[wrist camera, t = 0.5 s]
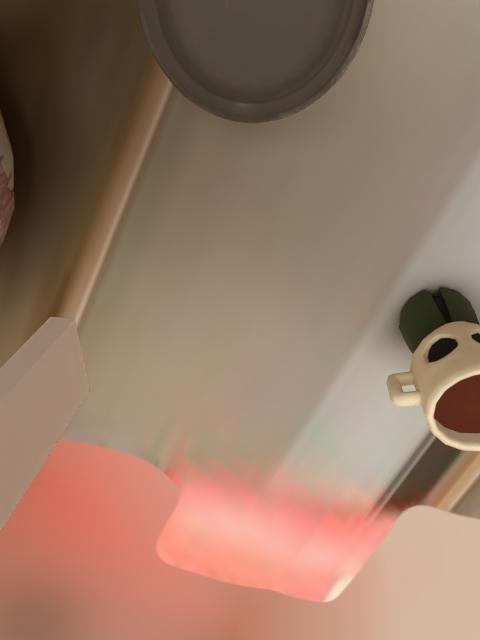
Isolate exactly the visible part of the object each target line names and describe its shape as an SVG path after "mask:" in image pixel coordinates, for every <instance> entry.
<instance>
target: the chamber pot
mask: <svg viewBox="0 0 480 640" xmlns="http://www.w3.org/2000/svg"><path fill="white" fill-rule="evenodd" d="M13 211H14V167H13V149H12V146H11V143H10V140H9V136H8V133H7V130H6V126H5V123H4V120H3V117H2V113H1V110H0V247H1V246H2V244H3V241H4V238H5V235H6V232H7V229H8V226H9V223H10V220H11V217H12V214H13Z"/></svg>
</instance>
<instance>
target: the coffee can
mask: <svg viewBox="0 0 480 640" xmlns="http://www.w3.org/2000/svg"><path fill="white" fill-rule="evenodd" d="M137 1H138V9H139V14H140V19H141V23H142V27H143V30H144V33H145V36H146V39H147V42H148V44H149V46H150V49H151V51H152V53H153V55H154V57H155V58H156V60H157V62H158V64H159V66H160V67H161V69H162V70H163V72H164V73H165V74H166V76H167V77H168V78H169V80H170V81H171V82H172V84H173V85H174V86H175V87H176V88H177V89H178V90H179V91H180V92H181V93H182V94H183V95H184V96H185V97H186V98H188V99H189V100H190V101H192V102H193V103H194V104H196V105H197V106H199V107H200V108H202V109H203V110H205V111H207V112H209V113H211V114H214V115H216V116H219V117H222V118H225V119H228V120H232V121H236V122H247V123H259V122H268V121H273V120H278V119H281V118H284V117H287V116H290V115H292V114H295V113H297V112H299V111H301V110H302V109H304V108H306V107H307V106H309V105H311V104H312V103H314V102H315V101H316V100H318V99H319V98H320V97H321V96H322V95H324V94H325V93H326V92H327V91H328V90H329V89H330V88H331V87H332V86H333V85H334V84H335V83H336V82H337V81H338V79H339V78H340V77H341V76H342V74H343V73H344V72H345V70H346V69H347V67H348V66H349V64H350V63H351V61H352V59H353V58H354V56H355V54H356V52H357V50H358V48H359V46H360V44H361V42H362V39H363V37H364V35H365V32H366V29H367V26H368V23H369V19H370V16H371V12H372V7H373V1H374V0H137Z"/></svg>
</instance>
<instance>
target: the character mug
mask: <svg viewBox="0 0 480 640" xmlns="http://www.w3.org/2000/svg"><path fill="white" fill-rule="evenodd" d="M440 291H441V294H442V296H443V298H440V297H436V298H432V296H431V294H430V293H429V291H424V292H422V293H420V294H419V295H417V296H416V297H414V298H412V299H411V300H410V301H409V302H408V304H407V305H406V306H405V308H404V309H403V311H402V312H401V318H400V326H399V328H400V330H401V333H402V335H403V338H404V340H405V342H406V344H407V345H408V347H409V349H410V350H411V352H412V353H413V357H412V363H411V368H410V372H404V373H396V374H392V375H389V377H388V379H387V386H388V390H389V394H390V398H391V400H392V401H393V403H394V404H395V405H396V406H402V407H403V406H412V405H422V408H423V411H424V414H425V417H426V419H427V422H428V425H429V428H430V430H431V432H432V433H433V434H434V435H435V436H436V437H438V438H439V439H440V440H441V441H442V442H443V443H444V444H447V445H449V446H452V447H455V448H457V449H460V450H465V451H480V325H479V322H478V319H477V317H476V314H475V312H474V309H473V307H472V305H471V303H470V301H468V300H467V299H466V298H465V297H464V296H463V295H461V294H460V293H459V292H457V291H453V290H449V289H445V288H441V289H440ZM413 384H414V385H415V388H416V391H411V392H403V390H402V387H401V386H405V385H413Z"/></svg>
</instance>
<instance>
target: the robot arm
mask: <svg viewBox="0 0 480 640" xmlns="http://www.w3.org/2000/svg"><path fill="white" fill-rule="evenodd" d="M89 392H90V390H89V385H88V380H87V375H86V371H85V366H84V361H83V356H82V351H81V346H80V342H79V337H78V332H77V327H76V322H75V318H59V317H50V318H49V319H48V320H47V321H46V322H45V323H44V324H43V325H42V326H41V327H40V328H39V329H38V330H37V331H36V332H35V333H34V334H33V335H32V336H31V337H30V338H29V339H28V340H27V341H26V342H25V344H24V345H23V346H22V347H21V348H20V349H19V350H18V351H17V352H16V353H15V354H14V355H13V356H12V357H11V358H10V359H9V360H8V361H7V362H6V363H5V364H4V365H3V366H2V367H1V368H0V531H1V529H2V527H3V526H4V524H5V523H6V521H7V520H8V518H9V516H10V514H11V513H12V512H13V510H14V509H15V507H16V505H17V504H18V502H19V501H20V499H21V498H22V496H23V495H24V493H25V492H26V490H27V488H28V487H29V485H30V484H31V482H32V480H33V479H34V477H35V476H36V474H37V473H38V471H39V470H40V468H41V467H42V465H43V463H44V462H45V460H46V459H47V457H48V456H49V454H50V452H51V451H52V449H53V448H54V446H55V444H56V443H57V442H58V440H59V438H60V437H61V435H62V434H63V432H64V431H65V429H66V427H67V426H68V424H69V423H70V421H71V420H72V418H73V417H74V415H75V413H76V412H77V410H78V409H79V407H80V406H81V404H82V403H83V401H84V399H85V398H86V396H87V395H88V393H89Z"/></svg>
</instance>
